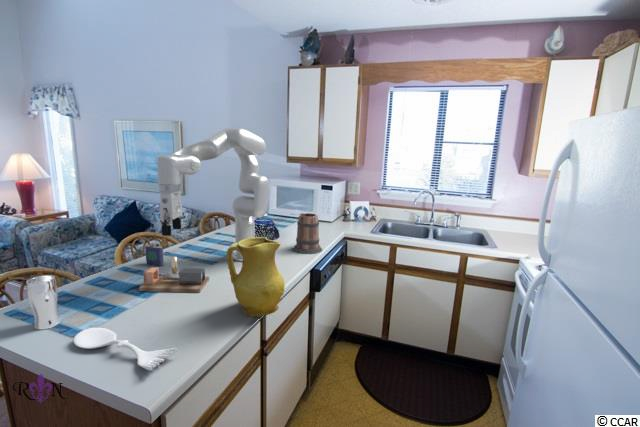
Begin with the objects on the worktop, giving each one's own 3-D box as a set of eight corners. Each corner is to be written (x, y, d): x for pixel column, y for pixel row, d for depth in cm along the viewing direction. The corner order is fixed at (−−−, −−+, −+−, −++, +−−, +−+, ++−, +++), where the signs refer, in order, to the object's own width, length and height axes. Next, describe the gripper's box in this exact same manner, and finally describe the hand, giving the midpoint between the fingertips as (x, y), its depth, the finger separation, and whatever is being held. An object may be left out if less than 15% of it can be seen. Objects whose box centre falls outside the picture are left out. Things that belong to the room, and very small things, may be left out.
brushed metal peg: (203, 278, 133) (202, 256, 131) (200, 281, 130) (199, 258, 128) (166, 278, 132) (164, 255, 131) (163, 280, 130) (161, 258, 128)
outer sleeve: (205, 279, 134) (204, 268, 133) (201, 284, 129) (200, 273, 128) (184, 279, 134) (183, 268, 133) (179, 284, 129) (178, 272, 128)
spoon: (151, 379, 80) (150, 367, 79) (66, 347, 91) (64, 335, 90) (179, 358, 88) (179, 346, 87) (98, 330, 99) (97, 320, 99)
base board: (209, 279, 138) (208, 276, 138) (200, 292, 126) (199, 288, 126) (153, 279, 137) (153, 275, 137) (139, 291, 125) (138, 287, 125)
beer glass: (43, 318, 104) (37, 274, 101) (66, 318, 105) (61, 274, 102) (26, 331, 97) (18, 284, 94) (51, 330, 98) (44, 284, 95)
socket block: (158, 279, 133) (158, 267, 132) (153, 284, 129) (152, 272, 128) (150, 279, 133) (149, 267, 132) (144, 284, 128) (143, 272, 127)
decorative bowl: (285, 236, 209) (286, 214, 206) (264, 243, 193) (264, 219, 190) (262, 231, 220) (262, 210, 217) (240, 237, 203) (240, 214, 200)
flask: (165, 264, 153) (163, 242, 151) (160, 266, 151) (159, 244, 149) (149, 262, 156) (147, 240, 154) (144, 264, 153) (142, 242, 151)
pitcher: (262, 325, 104) (260, 249, 100) (222, 311, 114) (219, 241, 110) (294, 305, 118) (294, 238, 115) (256, 294, 128) (254, 232, 125)
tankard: (316, 256, 173) (317, 219, 169) (287, 251, 178) (288, 216, 174) (329, 244, 195) (330, 211, 191) (303, 240, 200) (304, 208, 196)
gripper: (170, 191, 116) (173, 238, 119) (187, 186, 132) (189, 227, 136) (148, 191, 115) (152, 238, 119) (169, 185, 132) (171, 226, 136)
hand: (172, 232), depth 127 cm, fingers open, 9 cm apart
